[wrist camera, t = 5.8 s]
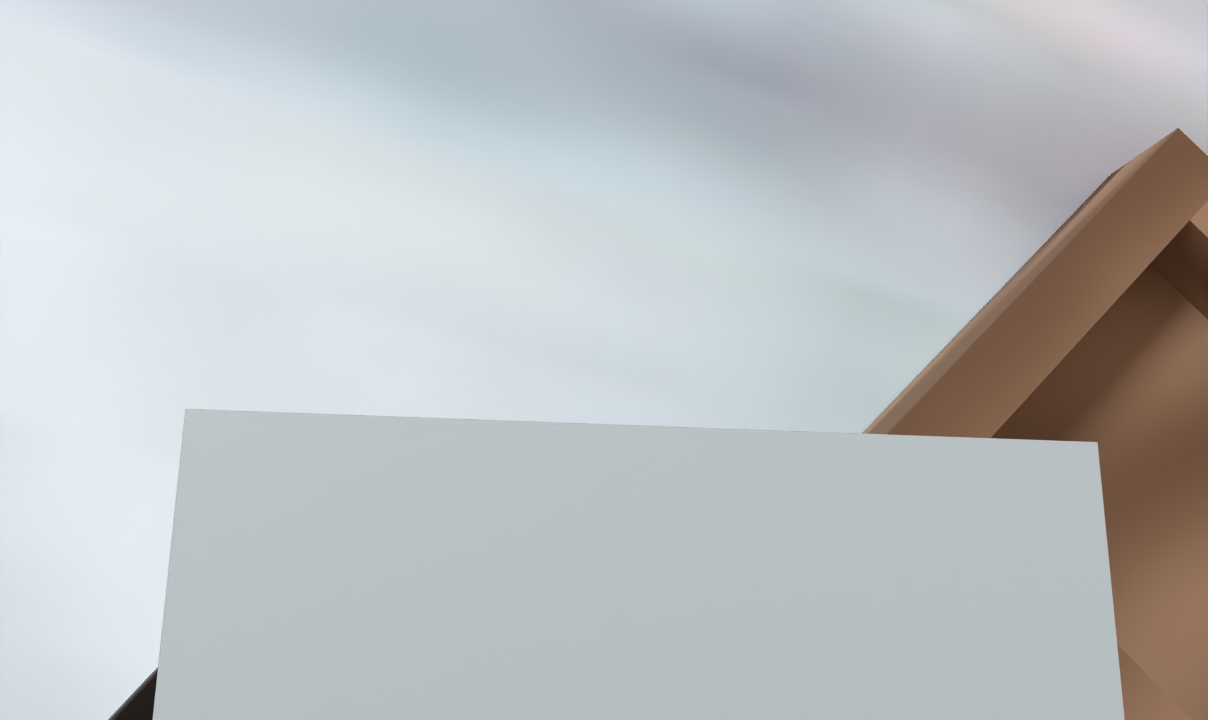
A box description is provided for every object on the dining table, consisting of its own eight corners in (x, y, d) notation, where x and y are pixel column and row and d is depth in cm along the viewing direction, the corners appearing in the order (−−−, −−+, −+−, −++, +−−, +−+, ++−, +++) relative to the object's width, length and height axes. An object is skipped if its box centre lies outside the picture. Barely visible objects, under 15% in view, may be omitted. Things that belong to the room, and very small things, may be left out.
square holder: (1459, 509, 25) (1566, 497, 23) (1187, 882, 22) (1276, 912, 20) (1111, 174, 26) (1178, 127, 24) (806, 491, 23) (847, 475, 21)
